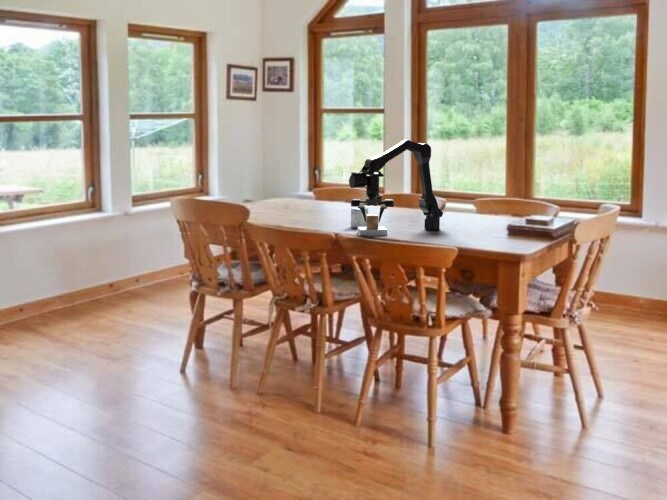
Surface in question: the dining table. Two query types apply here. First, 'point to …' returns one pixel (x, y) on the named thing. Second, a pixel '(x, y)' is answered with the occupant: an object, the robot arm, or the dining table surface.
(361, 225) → the medicine box
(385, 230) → the book
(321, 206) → the dining table surface
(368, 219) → the walnut block
